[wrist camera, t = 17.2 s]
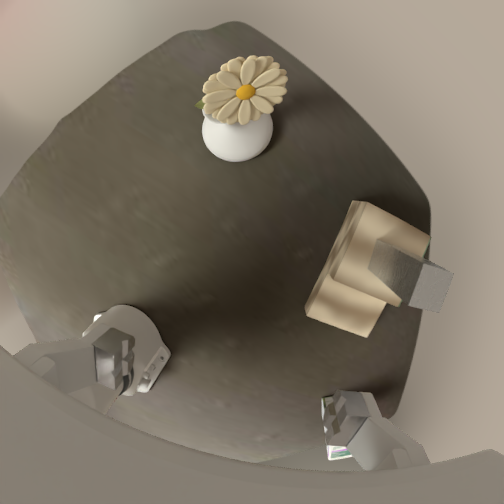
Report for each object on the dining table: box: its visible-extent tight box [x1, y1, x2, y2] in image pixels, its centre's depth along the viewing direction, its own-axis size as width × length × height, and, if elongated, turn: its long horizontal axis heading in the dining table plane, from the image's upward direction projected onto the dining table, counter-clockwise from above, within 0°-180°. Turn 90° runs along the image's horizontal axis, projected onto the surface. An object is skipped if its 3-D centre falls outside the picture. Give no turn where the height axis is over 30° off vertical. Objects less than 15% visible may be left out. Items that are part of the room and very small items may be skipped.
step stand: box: [304, 200, 431, 338], centre depth 41 cm, size 20×12×8 cm, turn 158°
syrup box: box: [322, 396, 352, 460], centre depth 45 cm, size 6×6×14 cm
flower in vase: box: [195, 55, 288, 162], centre depth 30 cm, size 13×11×25 cm
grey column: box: [367, 240, 454, 313], centre depth 30 cm, size 4×4×14 cm
